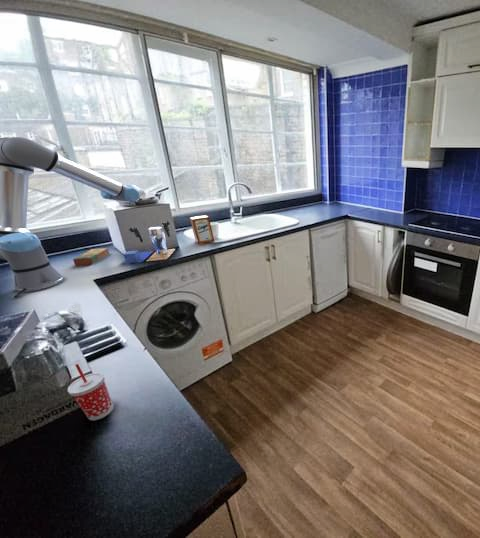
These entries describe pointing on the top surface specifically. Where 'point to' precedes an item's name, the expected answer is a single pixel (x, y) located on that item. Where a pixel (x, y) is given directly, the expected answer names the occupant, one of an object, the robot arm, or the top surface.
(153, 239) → the beer glass
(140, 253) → the blue mat
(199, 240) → the baking soda box
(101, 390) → the beverage cup
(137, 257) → the blue block
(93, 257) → the carton
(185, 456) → the top surface
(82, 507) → the top surface
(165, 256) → the amber mat
